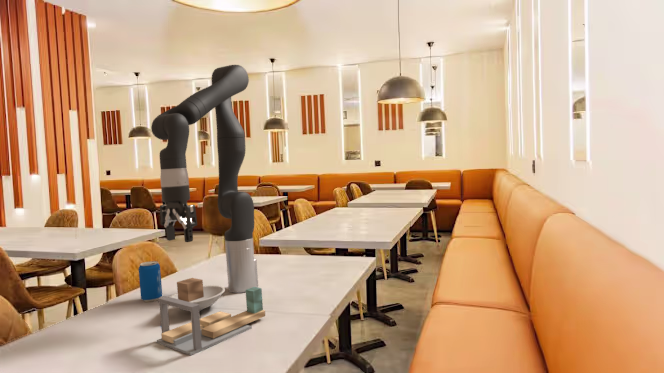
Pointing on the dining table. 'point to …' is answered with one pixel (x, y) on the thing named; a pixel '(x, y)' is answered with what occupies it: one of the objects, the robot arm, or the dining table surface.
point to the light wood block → (214, 318)
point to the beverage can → (150, 281)
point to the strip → (239, 315)
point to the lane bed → (195, 339)
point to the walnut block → (190, 289)
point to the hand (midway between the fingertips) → (179, 240)
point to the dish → (207, 296)
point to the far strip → (178, 332)
